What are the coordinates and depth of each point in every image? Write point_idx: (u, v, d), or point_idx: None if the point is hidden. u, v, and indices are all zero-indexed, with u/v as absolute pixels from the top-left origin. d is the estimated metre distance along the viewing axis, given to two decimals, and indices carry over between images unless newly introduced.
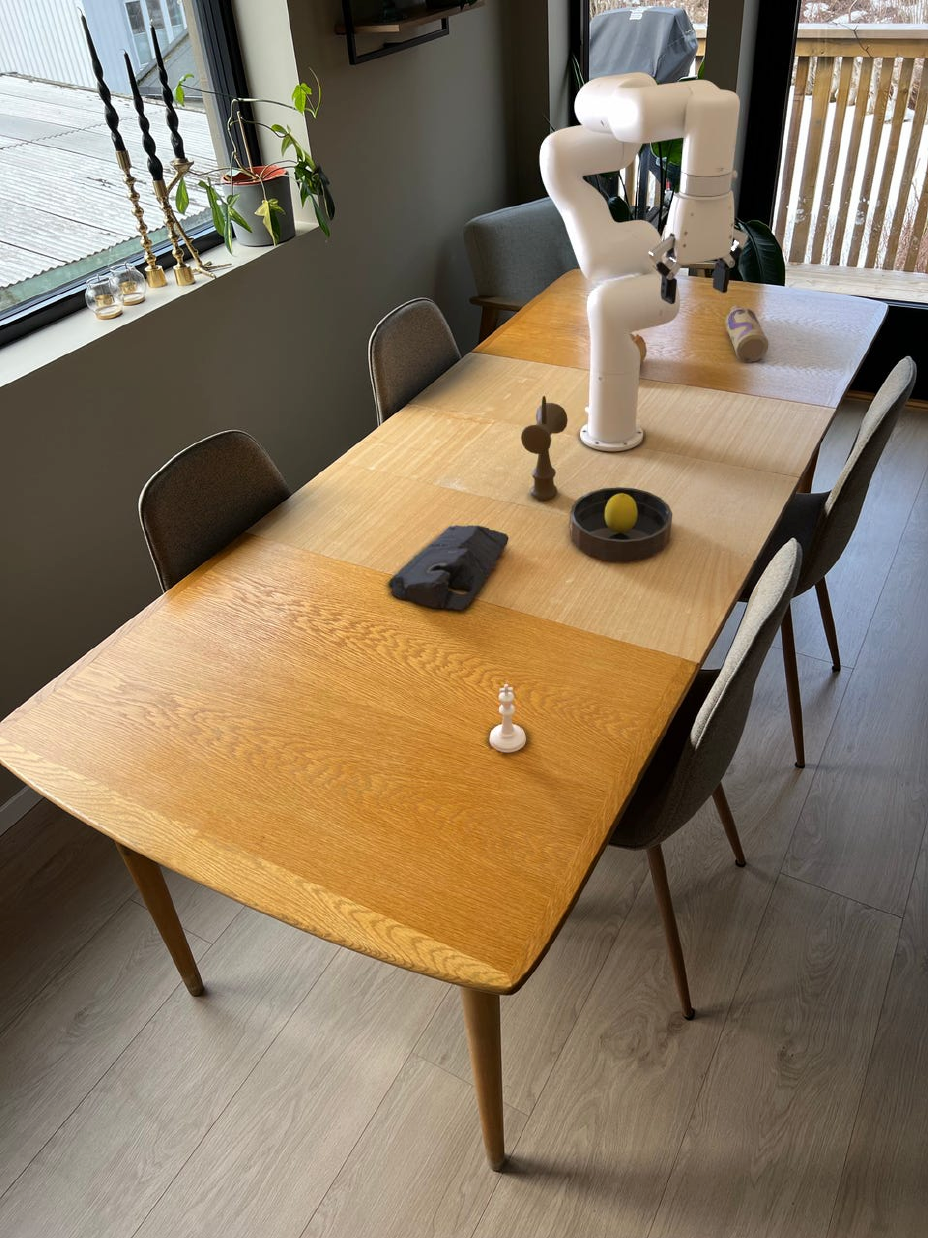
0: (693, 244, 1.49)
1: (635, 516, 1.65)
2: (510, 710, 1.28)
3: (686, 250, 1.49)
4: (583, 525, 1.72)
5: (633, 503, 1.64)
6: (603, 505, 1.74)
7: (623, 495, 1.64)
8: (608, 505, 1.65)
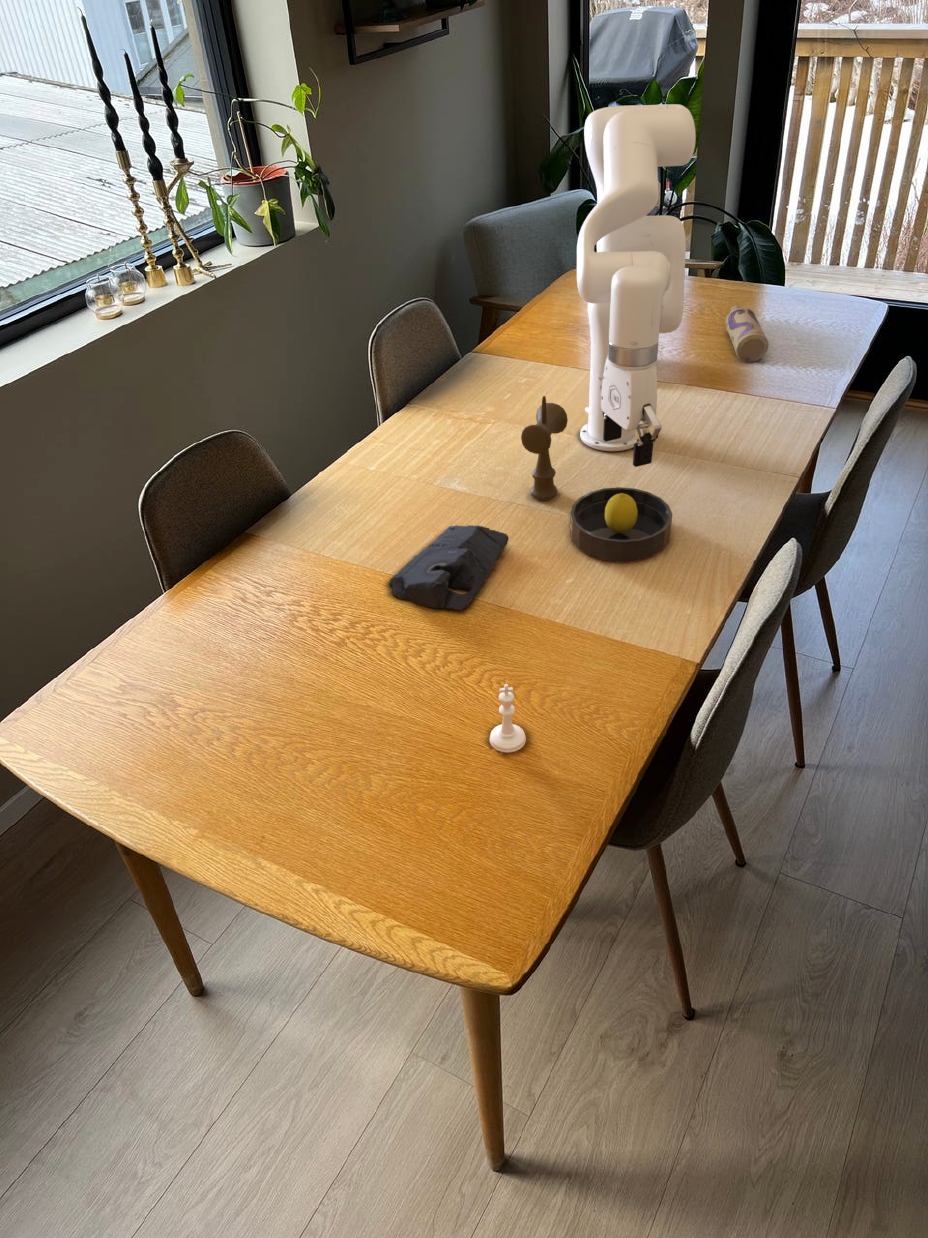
0: None
1: (635, 516, 1.65)
2: (510, 710, 1.28)
3: None
4: (583, 525, 1.72)
5: (633, 503, 1.64)
6: (603, 505, 1.74)
7: (623, 495, 1.64)
8: (608, 505, 1.65)
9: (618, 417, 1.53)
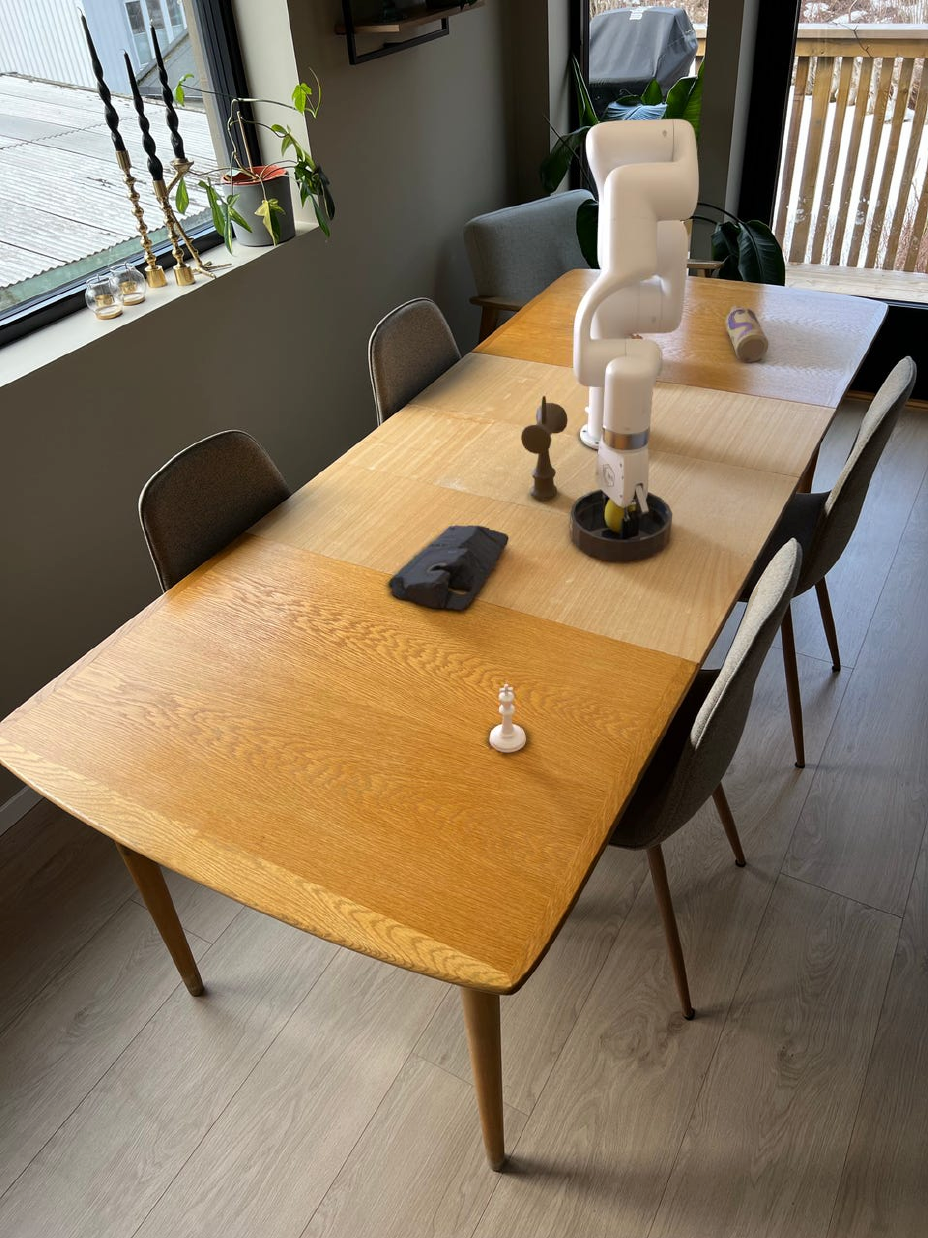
0: None
1: None
2: (510, 710, 1.28)
3: None
4: (583, 525, 1.72)
5: None
6: None
7: None
8: (608, 505, 1.65)
9: (612, 494, 1.62)
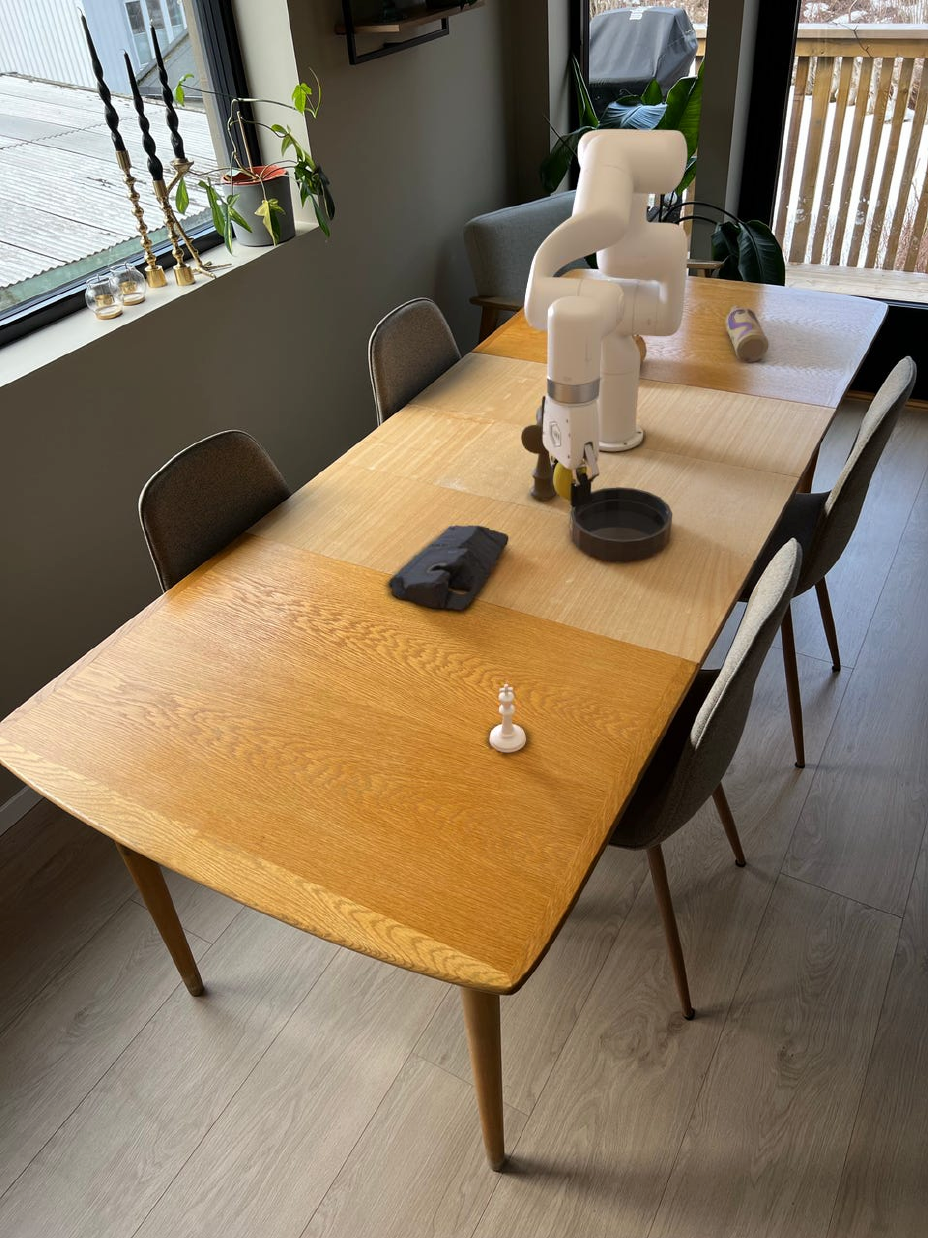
0: None
1: None
2: (510, 710, 1.28)
3: None
4: (583, 525, 1.72)
5: None
6: (603, 505, 1.74)
7: None
8: (556, 468, 1.47)
9: (559, 455, 1.44)
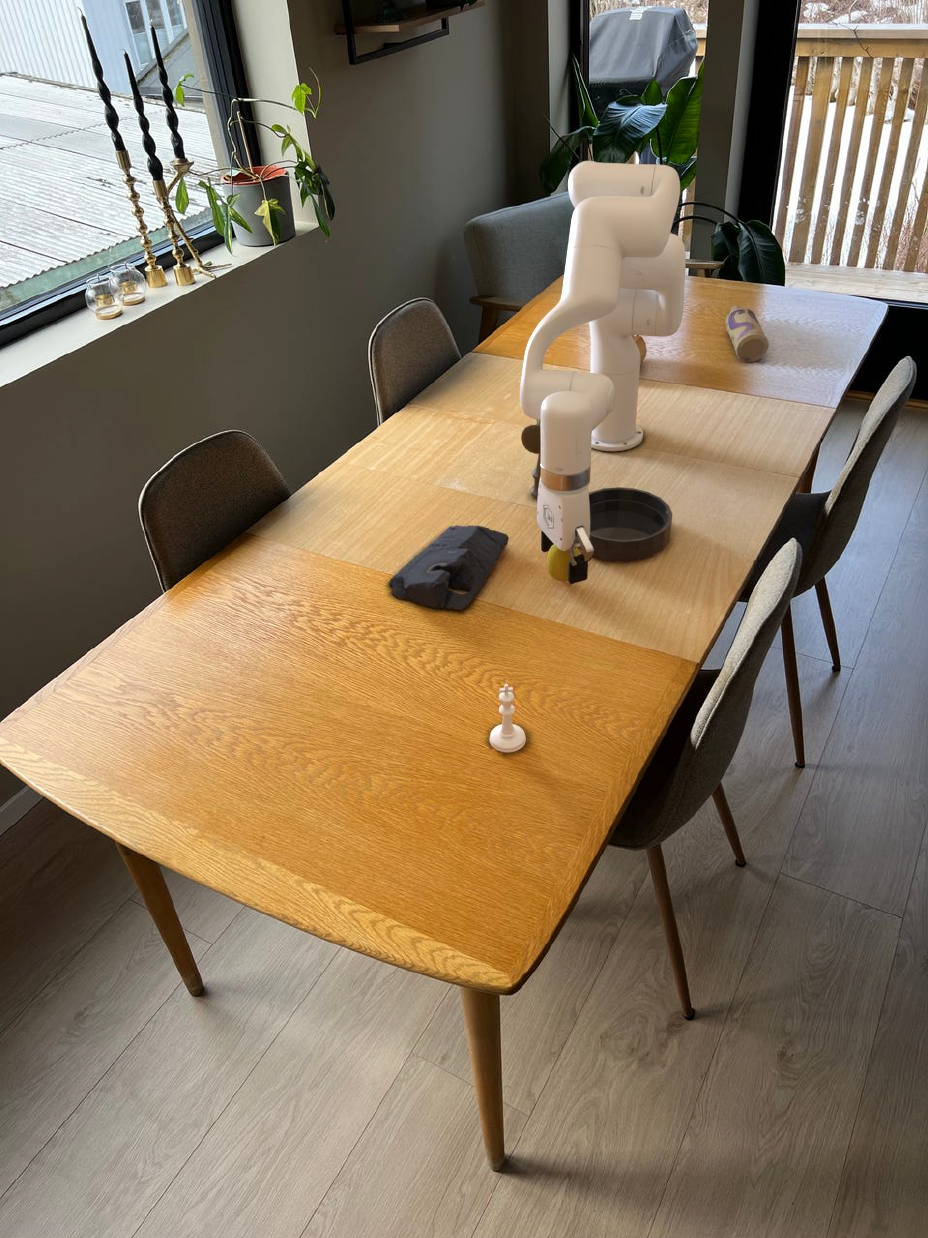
0: None
1: None
2: (510, 710, 1.28)
3: None
4: None
5: (576, 551, 1.55)
6: (603, 505, 1.74)
7: None
8: (549, 553, 1.56)
9: (552, 536, 1.51)
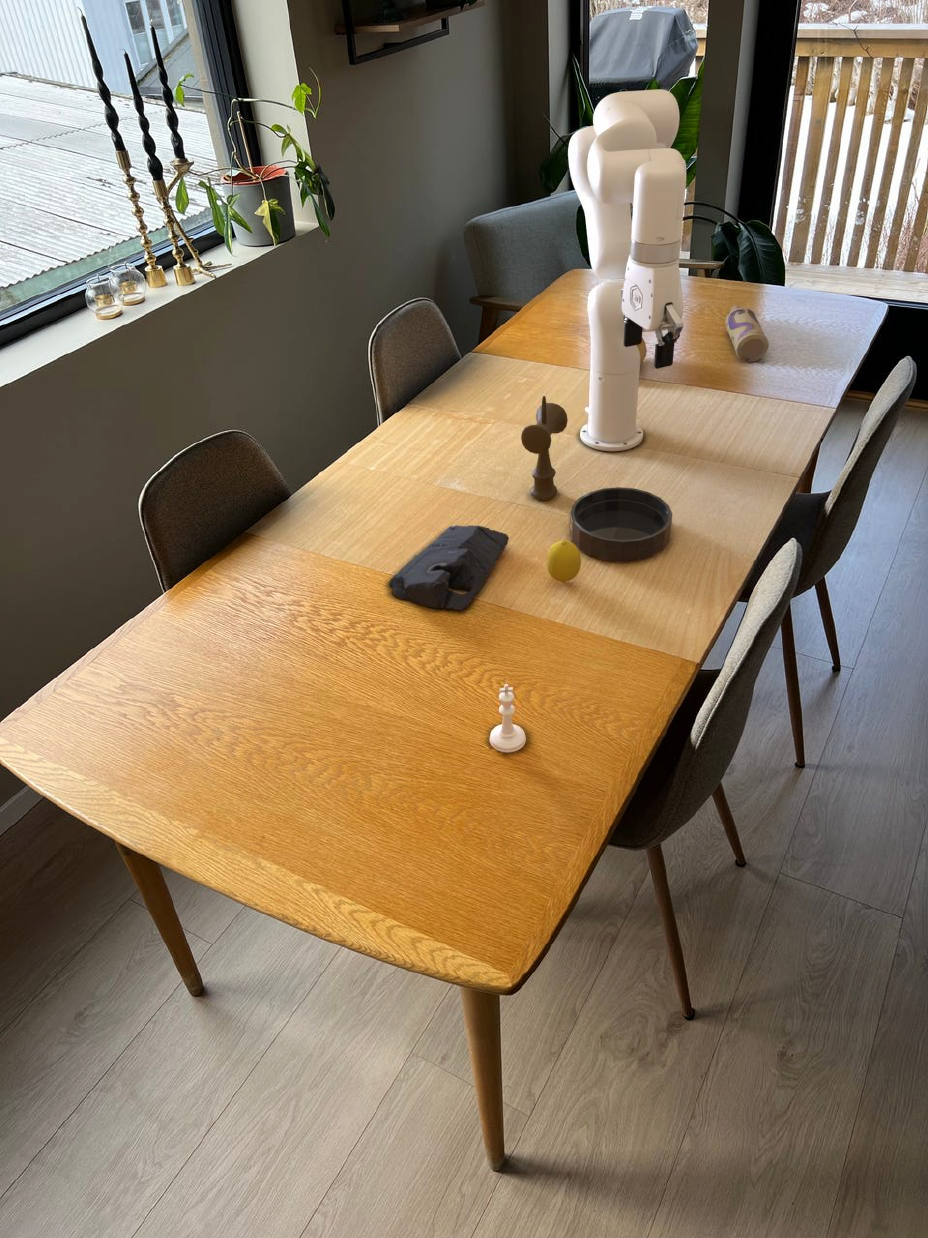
0: None
1: (577, 564, 1.55)
2: (510, 710, 1.28)
3: None
4: (583, 525, 1.72)
5: (575, 551, 1.55)
6: (603, 505, 1.74)
7: (565, 543, 1.55)
8: (549, 553, 1.56)
9: (639, 318, 1.54)
